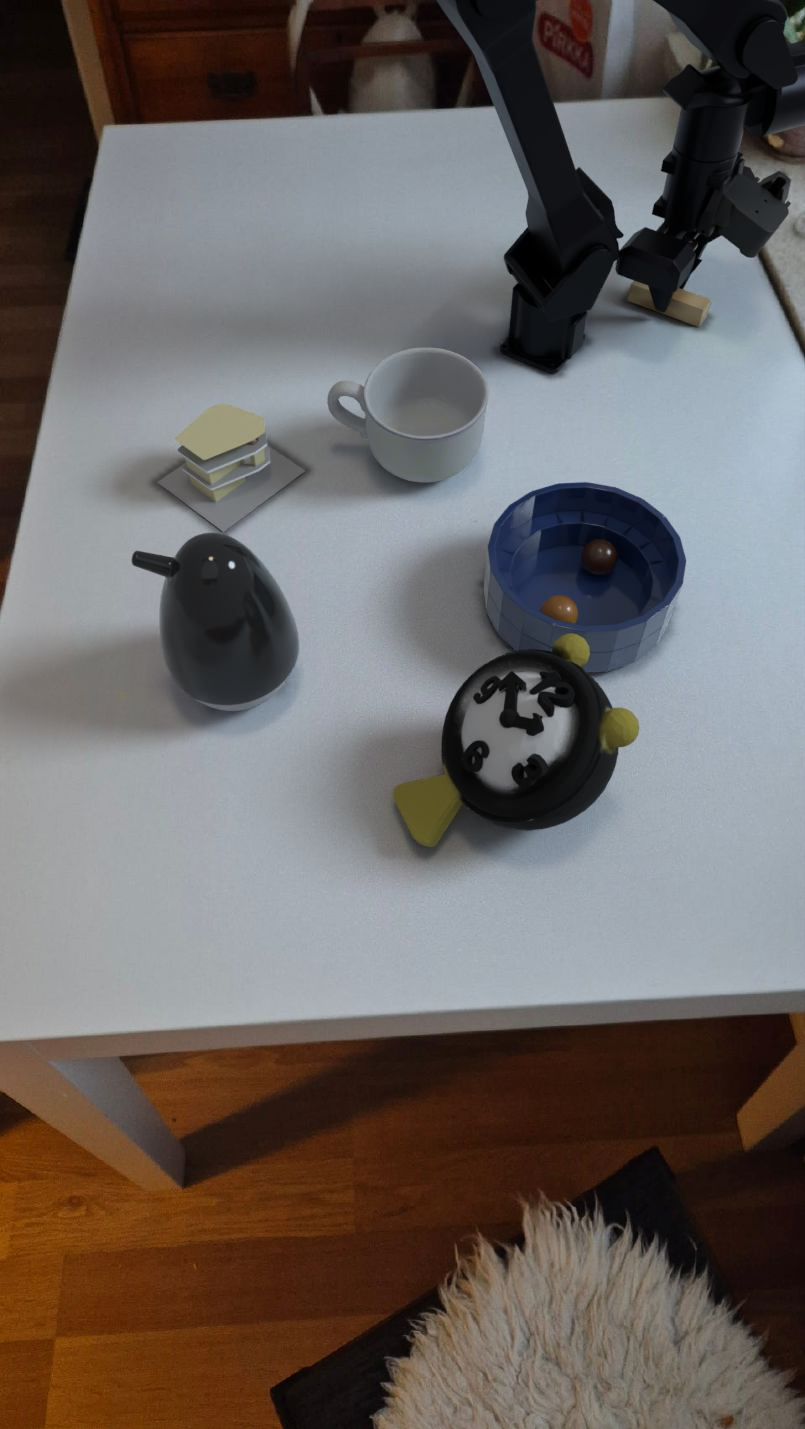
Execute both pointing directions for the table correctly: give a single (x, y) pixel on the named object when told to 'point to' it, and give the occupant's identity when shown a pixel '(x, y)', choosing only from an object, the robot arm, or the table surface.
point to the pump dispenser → (223, 622)
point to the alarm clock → (522, 745)
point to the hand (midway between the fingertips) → (668, 300)
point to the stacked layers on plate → (228, 466)
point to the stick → (673, 303)
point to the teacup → (418, 412)
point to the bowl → (583, 572)
